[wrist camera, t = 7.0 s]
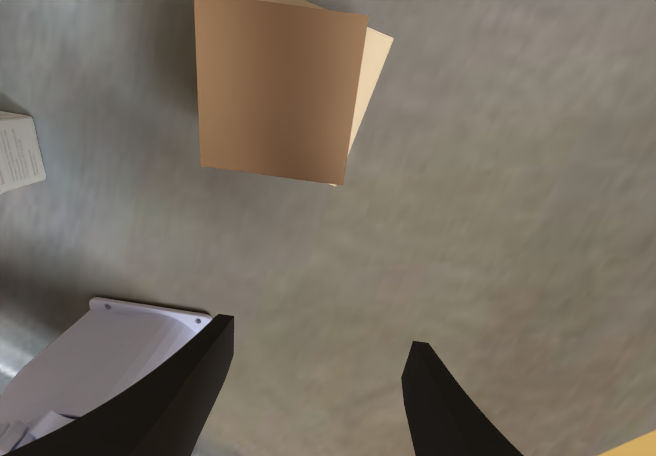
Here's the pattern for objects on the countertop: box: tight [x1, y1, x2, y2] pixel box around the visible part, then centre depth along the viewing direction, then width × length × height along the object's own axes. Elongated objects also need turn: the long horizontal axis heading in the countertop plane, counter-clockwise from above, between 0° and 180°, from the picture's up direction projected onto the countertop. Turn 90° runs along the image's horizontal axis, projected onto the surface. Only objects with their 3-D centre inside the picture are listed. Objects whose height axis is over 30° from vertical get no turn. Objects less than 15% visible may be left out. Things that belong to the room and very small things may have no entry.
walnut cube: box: [194, 0, 369, 185], centre depth 12 cm, size 5×5×5 cm
